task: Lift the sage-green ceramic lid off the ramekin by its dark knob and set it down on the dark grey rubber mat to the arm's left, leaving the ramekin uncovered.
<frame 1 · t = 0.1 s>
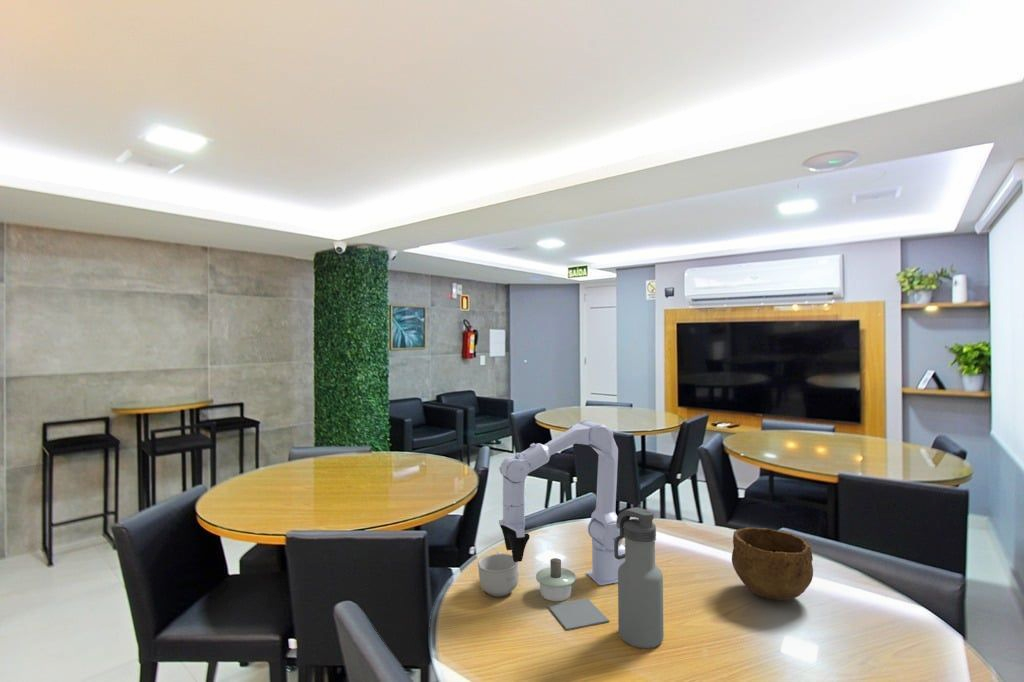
hand: (514, 555, 130), 10 cm above the table, fingers open, 7 cm apart
water bottle: (640, 637, 110), on the table
mat: (577, 614, 120), on the table
ramekin: (555, 595, 130), on the table, touching lid
lid: (555, 578, 130), point 4 cm above the table, touching ramekin
bowl: (771, 596, 129), on the table
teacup: (499, 588, 133), on the table
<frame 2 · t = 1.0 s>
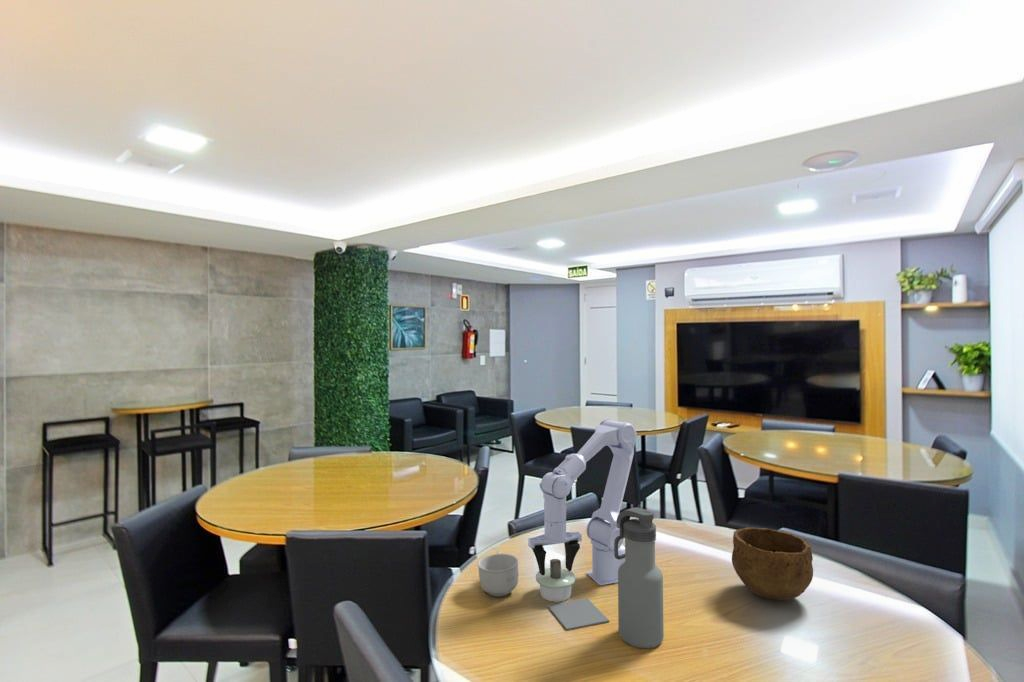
hand: (555, 571, 130), 6 cm above the table, fingers open, 7 cm apart
nothing on the table moved.
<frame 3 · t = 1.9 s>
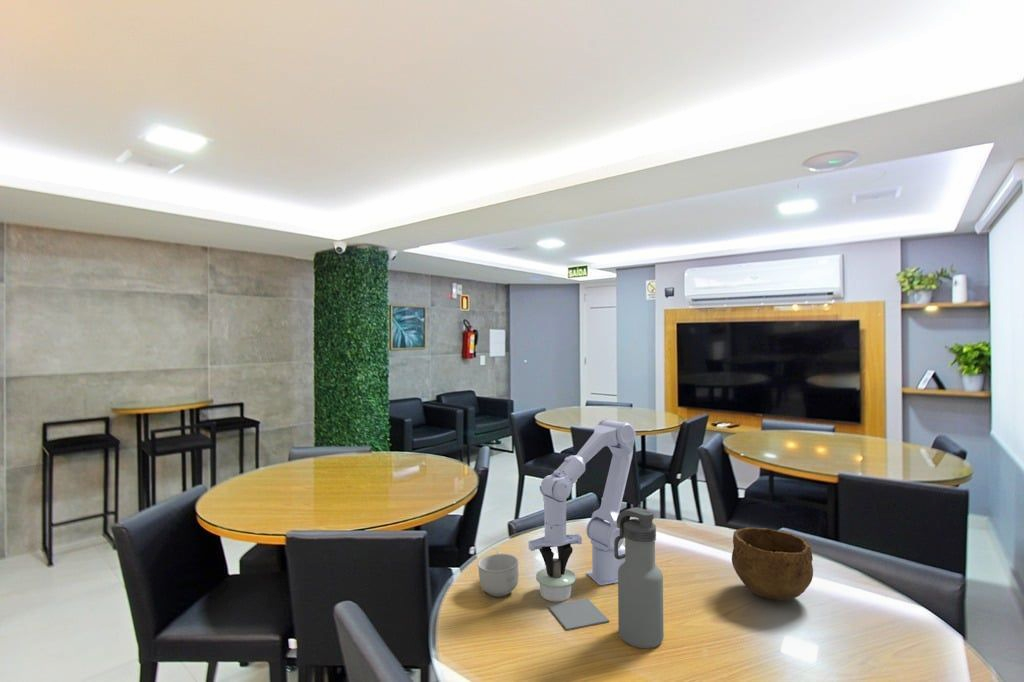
hand: (555, 574, 130), 5 cm above the table, fingers closed on lid, 3 cm apart
ramekin: (555, 595, 130), on the table
lid: (555, 578, 130), point 4 cm above the table, touching gripper
everything else where it was.
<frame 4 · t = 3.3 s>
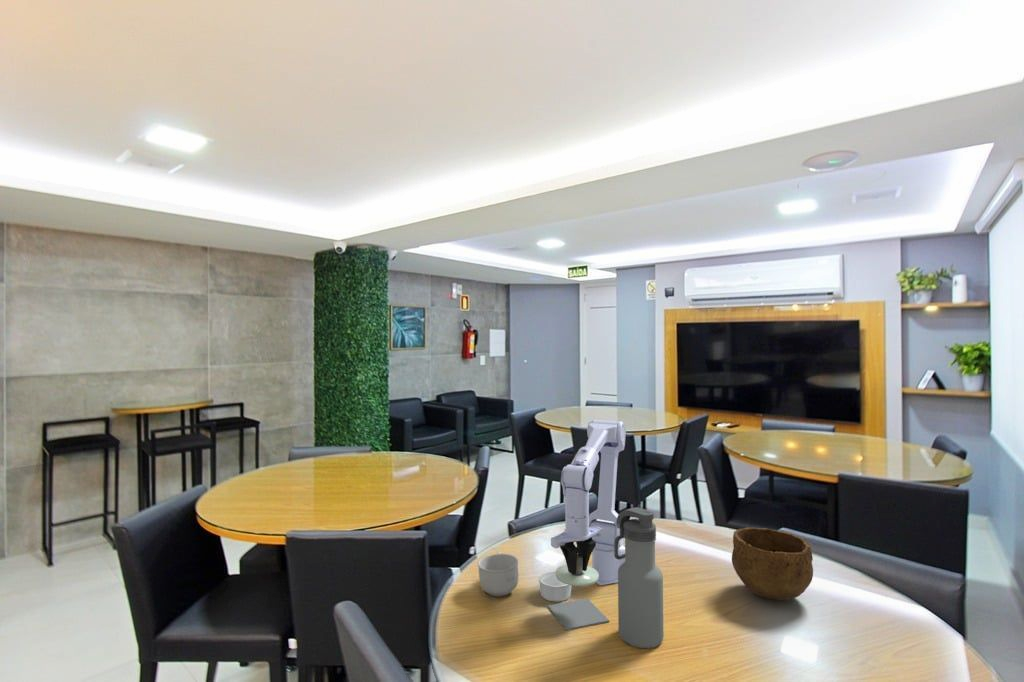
hand: (577, 571, 120), 10 cm above the table, fingers closed on lid, 3 cm apart
lid: (577, 575, 120), point 9 cm above the table, touching gripper
everything else where it was.
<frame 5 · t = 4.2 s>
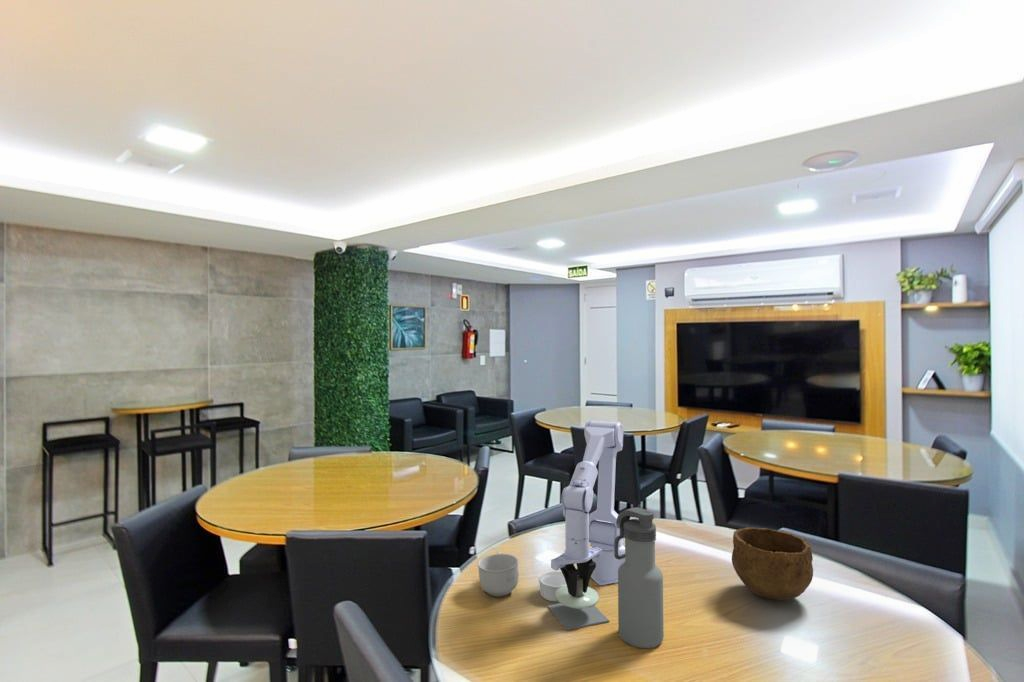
hand: (577, 592, 120), 5 cm above the table, fingers closed on lid, 3 cm apart
lid: (577, 597, 120), point 4 cm above the table, touching gripper
everything else where it was.
when the fingers open (3 cm above the table, at t = 4.9 s): lid drops 1 cm, resting on mat.
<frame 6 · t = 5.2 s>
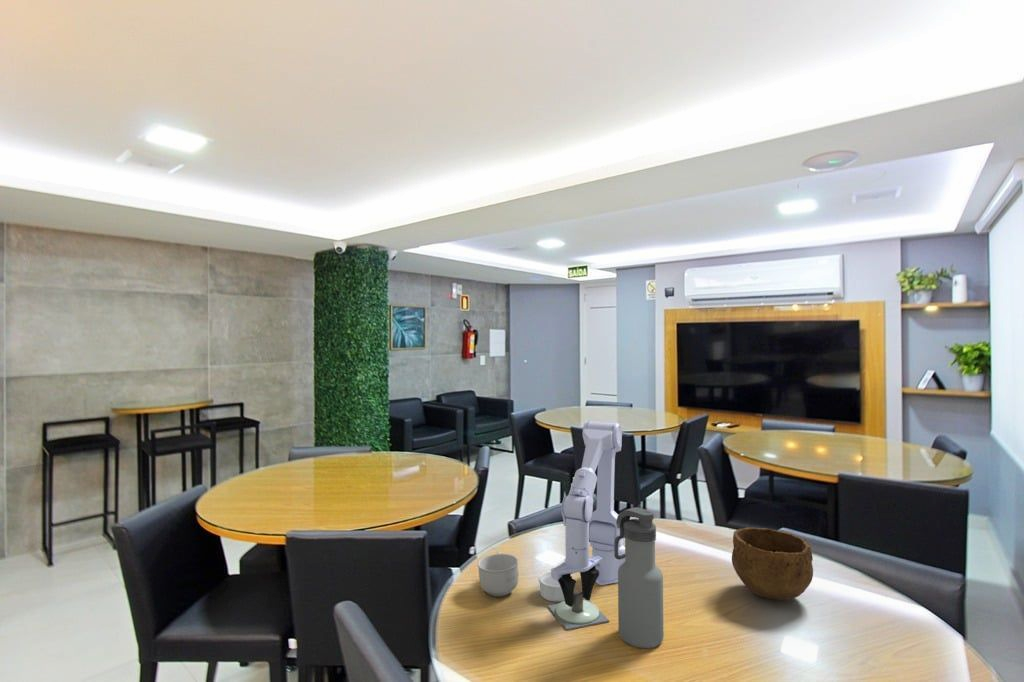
hand: (577, 601, 120), 3 cm above the table, fingers open, 5 cm apart
lid: (577, 612, 120), resting on mat
everything else where it was.
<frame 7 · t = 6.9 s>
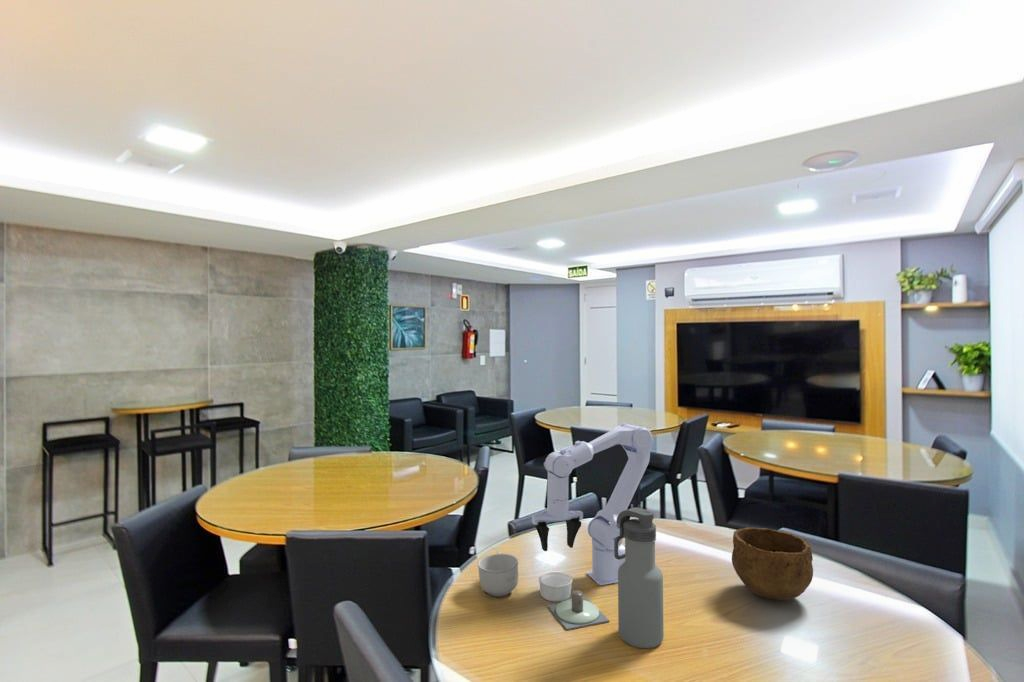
hand: (557, 548, 134), 10 cm above the table, fingers open, 7 cm apart
nothing on the table moved.
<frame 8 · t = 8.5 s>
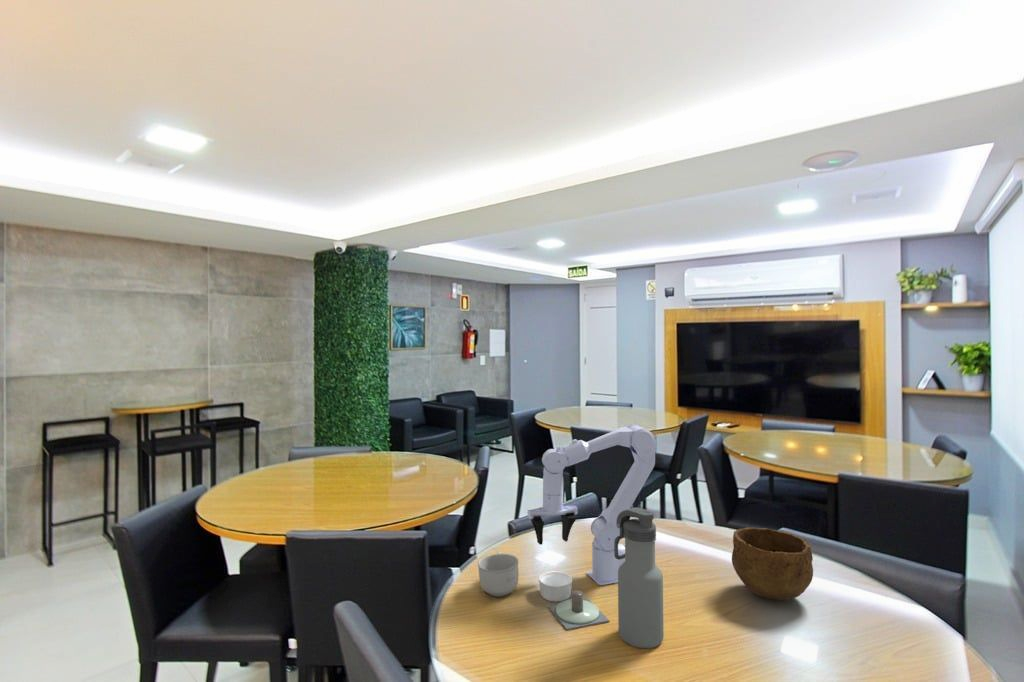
hand: (552, 541, 139), 10 cm above the table, fingers open, 7 cm apart
nothing on the table moved.
at the end: lid inside the target area on the mat (0.2 cm from its centre), point 0.4 cm above the mat's base; lid touching mat; lid tilted 0° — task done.
